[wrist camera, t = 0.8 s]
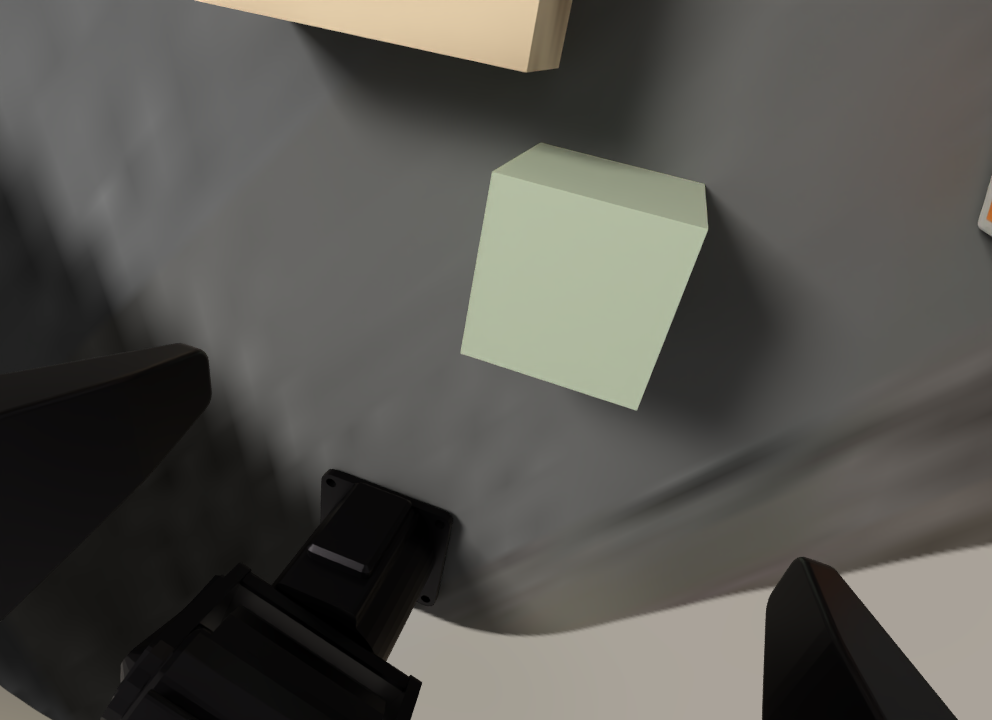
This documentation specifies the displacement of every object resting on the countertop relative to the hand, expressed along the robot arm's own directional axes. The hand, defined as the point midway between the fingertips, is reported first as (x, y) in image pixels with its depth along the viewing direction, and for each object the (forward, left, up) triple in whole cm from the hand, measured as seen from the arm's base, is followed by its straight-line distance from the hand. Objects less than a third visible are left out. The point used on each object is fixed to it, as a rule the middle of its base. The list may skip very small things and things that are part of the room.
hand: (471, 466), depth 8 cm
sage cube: (0, 0, -12) cm, 12 cm away
